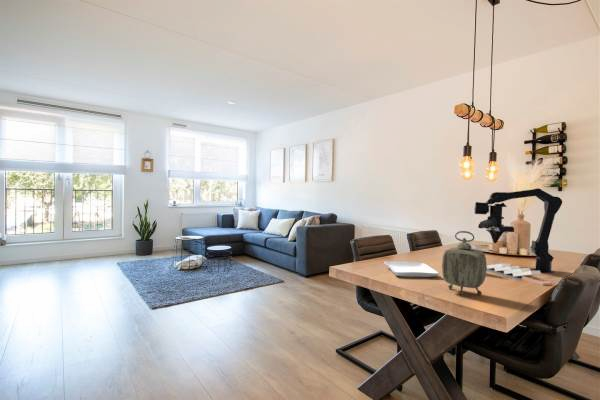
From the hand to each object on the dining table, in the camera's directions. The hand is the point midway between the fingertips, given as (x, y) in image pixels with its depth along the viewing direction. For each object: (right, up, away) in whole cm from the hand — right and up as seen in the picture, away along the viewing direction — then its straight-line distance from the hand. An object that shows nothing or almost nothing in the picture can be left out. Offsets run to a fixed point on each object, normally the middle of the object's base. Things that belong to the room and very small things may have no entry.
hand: (494, 243), depth 171 cm
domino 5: (-2, -12, -27) cm, 30 cm away
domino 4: (-3, -12, -23) cm, 26 cm away
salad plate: (-53, -13, -16) cm, 57 cm away
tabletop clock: (-43, -14, -48) cm, 66 cm away
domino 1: (-7, -12, -7) cm, 15 cm away
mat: (-5, -13, -16) cm, 21 cm away
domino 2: (-6, -12, -12) cm, 18 cm away
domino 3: (-4, -12, -18) cm, 22 cm away
